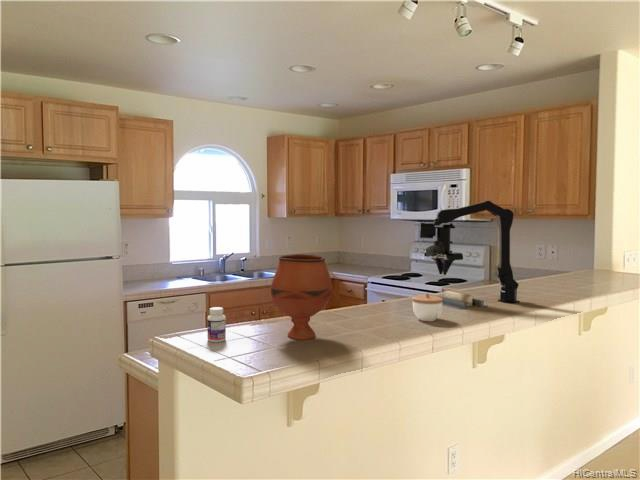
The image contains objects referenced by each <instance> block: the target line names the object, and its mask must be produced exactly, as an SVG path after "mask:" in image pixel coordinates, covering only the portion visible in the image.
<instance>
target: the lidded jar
mask: <svg viewBox="0 0 640 480" xmlns="http://www.w3.org/2000/svg"><path fill="white" fill-rule="evenodd" d="M437 296H438V295H430V293H429V292H428V293H426V294H425V295H423V294H422V295H415V296H413V297H412V298H411V299H412V311H413V313H414V315H415V317H417V318H418V320H419V321H421V322H424V321H425V322H434V321H436V320H437V319H438V317H440V316H441V313H442V310H443V305H442V302H443V299H442V298H440V297H437Z"/></svg>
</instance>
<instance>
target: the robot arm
mask: <svg viewBox="0 0 640 480" xmlns="http://www.w3.org/2000/svg"><path fill="white" fill-rule="evenodd" d="M484 211H487V212H488V213H490V214H492V215H493V216H494V217H495V219H496V224H497V226H498V230H499V233H498V234H499V237H498V238H499V243H498V245H499V252H498V253H499V255H498V256H499V257H498V259H499V262H498V264H497V266H496V265H495V266H494V270H495V271H494V277H495V278H496V280H497V281H498V282H499V284H500V285H501V287H500V292H499V293H500V295H499V297H500V298H499V299H497V301H498V302H504V303H507V304H513V303H519V302H520V300H518V298H517V296H518V295H517V293H518V292H517V291H518V288H519V285H520V284H519V283H518V282H517V281H516V280H515V279H514V274H513V269H512V266H511V262H510V261H511V259H510V258H511V229H512V226H513V221H514V216H515V215H514V212H513V211H512V210H511V209H510V208H503V207H501V206H499V205H498V204H496V203H493V202H492V201H490V200H484V201H482V202H477V203H474V204H470V205H467V206H462V207H459V208H458V207H457V208H449V209H448V208H447V209H441V210H439V211H437V213H436V217H435V219H434V220H433V222H431V223H429V222H420V223H419V231H418V232H419V233H418V237H419V239H434V237H436V240H434V242H433V245H430V246H428V247H426V248H424V250H425V251H424V253H423V254H424V255H423V256H424V257H428V258H429V257H431V258H430V259H431V260H433V261H434V262H435V264H436V267H437V269H438V270H437V271H438V272H439V275H443V276H446V275H447V274H448V271H449V270H450V268H451V266H452V265H453V263H454V262H455V261H463V260H464V255H463V253H462V252H456V251H455V252H453V250H451V245H453V241H452V240H451V235H452V234H451V230H452V229H456V226H455V225H454V224H453V223H452V221H454V220H456V219H458V218H460V217H463V216H468V215H472V214H476V213H477V214H478V213H480V212H484ZM447 223H449V224H447ZM441 225H442V226H441Z"/></svg>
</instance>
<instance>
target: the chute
mask: <svg viewBox="0 0 640 480" xmlns="http://www.w3.org/2000/svg"><path fill="white" fill-rule="evenodd" d="M436 296H437V297H440V298H442V299H443V302H442V306H446V307H450V308H453V309H457V310H465V309H468V306H467V302H465V301H460V300H456V299H452V298H448V297H445V295H444V296H443V295H436ZM471 306H477V307H482V308H483V307H488V306H489V304H486V303H485V300H484V299H480V298H475V297H472V305H471Z"/></svg>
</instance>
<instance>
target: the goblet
mask: <svg viewBox="0 0 640 480" xmlns="http://www.w3.org/2000/svg"><path fill="white" fill-rule="evenodd" d="M325 258H326V257H324V256H320V255H314V254H305V253H304V254H303V253H302V254H301V253H300V254H297V253H296V254H289V255H288V254H287V255H281V256H279V257H278V264H277V268H276V271H275V273H274V275H273V279H272V282H271V286H270V295H271V298H272V300H273V303H274V304H275V305H276V307H277V308H278V309H279V310H280V311H281V312H282V313H283V314H285V315H286V316H288V317H290V319H291V322H292V323H293V325H292V327H291V328H290V330H289V331H288V332H287V337H288V338H290V339H294V340H309V339H313V338H315V337H316V332H315V331H314V329H313V327H311V326H310V325H309V322H310V321H311V318H312V317H313V316H314V315H316V314H317V313H319V312H321V311H322V310H323V309H324V308H325V307H326V305H327V304H328V303H329V302H330V300H331V299H330V298H331V296H332V291H333V283H332V278H331V275H330V272H329V269H328V267H327V263H326V259H325Z"/></svg>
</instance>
